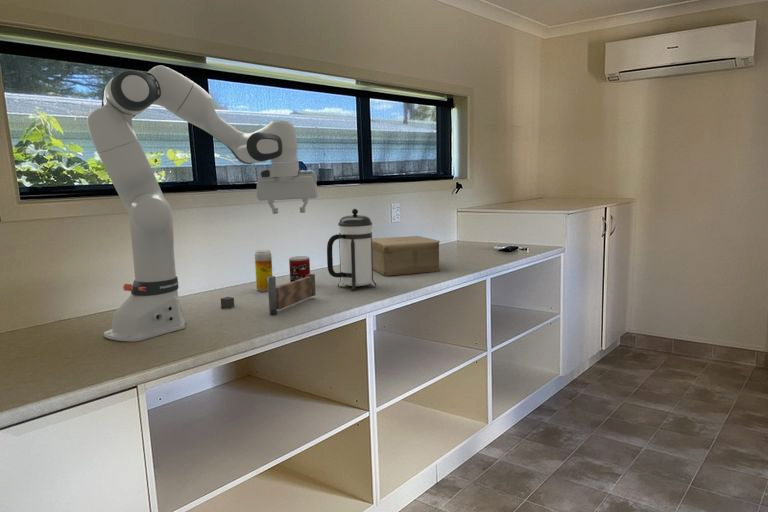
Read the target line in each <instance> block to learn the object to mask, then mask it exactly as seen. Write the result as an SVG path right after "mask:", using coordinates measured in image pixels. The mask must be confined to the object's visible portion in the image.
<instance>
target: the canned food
mask: <svg viewBox="0 0 768 512" xmlns="http://www.w3.org/2000/svg"><path fill="white" fill-rule="evenodd" d="M288 259H289V261H288V262H289V264H288V265H289V280H290V282H293V281H296V280H298V279H301V278H304V277H307V275H308V274H311V266H310V265H311V263H310V261H311V260H310V259H311V258H310V256H306V255H302V256H301V255H300V256H297V255H295V256H291V257H289V258H288ZM290 282H289V283H290Z"/></svg>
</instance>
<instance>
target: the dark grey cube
mask: <svg viewBox="0 0 768 512" xmlns="http://www.w3.org/2000/svg"><path fill="white" fill-rule="evenodd" d="M220 307H221V308H222V309H230V308H233V307H235V297H231V296H225V297H221V298H220Z"/></svg>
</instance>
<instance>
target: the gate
mask: <svg viewBox="0 0 768 512" xmlns="http://www.w3.org/2000/svg"><path fill="white" fill-rule="evenodd" d="M316 295H317V294H316V274H315V273H310V274H308V275H307V277H304V278H301V279H298V280H296V281H293V282H287V283H284V284H282V285H278V286H276V299H277V310H282V309H284V308H286V307H289V306H292V305H295V304H297V303H299V302H301V301H304V300H306V299H309V298H312V297H315V296H316Z"/></svg>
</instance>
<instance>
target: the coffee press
mask: <svg viewBox="0 0 768 512" xmlns="http://www.w3.org/2000/svg"><path fill="white" fill-rule="evenodd" d="M358 213H359V210H358V209H357V208H352V211H351V214H352V215H345V216H343V217H341V218H340V219H339V221H338V223H337V224H338V227H339V228H338V229H339V233H338V234H333V235H332V236H331V237H329V240H328V241H327V244H326V260H327V263H326V264H327V271H328V273H329V275H330V276H331V277H333V278H339V282H338V283H337V287H338V288H341V287H342V286H343V285H345V286H349V287H351V291H352V292H353V291H354V292H355V291H357V287H363V286H367V285H368V286H369V285H370V286H371V287H372V288H376V286H377V284H376V282H375V281H374V270H373V256H372V239H373V232H372V229H373V222H372V220H371V218H370V217H369V216H366V215H359V214H358ZM336 240H338V242H339V245H338V247H339V272H336V271H335V270H334V266H333V265H334V264H333V263H334V260H333V246H334V242H336ZM372 282H373V284H374V285H375V286H374V285H373V284H371V283H372ZM340 283H342V284H341V285H339V284H340Z"/></svg>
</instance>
